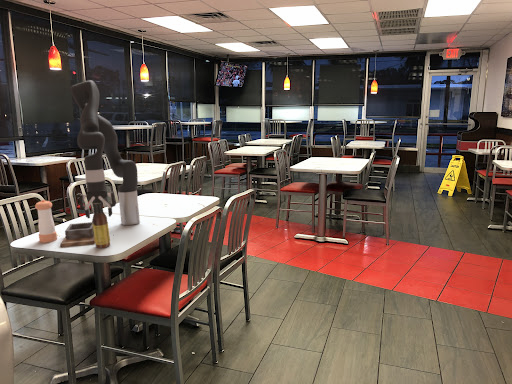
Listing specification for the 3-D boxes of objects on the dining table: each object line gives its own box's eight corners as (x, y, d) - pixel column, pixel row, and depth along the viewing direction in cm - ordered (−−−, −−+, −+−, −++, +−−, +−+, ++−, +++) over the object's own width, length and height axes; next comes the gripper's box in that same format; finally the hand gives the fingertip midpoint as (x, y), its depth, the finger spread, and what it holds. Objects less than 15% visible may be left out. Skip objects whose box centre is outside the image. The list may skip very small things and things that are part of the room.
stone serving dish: (99, 231, 201) (98, 220, 200) (94, 243, 182) (93, 231, 181) (69, 234, 197) (67, 223, 196) (60, 247, 178) (59, 235, 177)
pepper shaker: (52, 236, 194) (47, 197, 190) (59, 239, 190) (54, 199, 186) (36, 240, 189) (31, 200, 185) (43, 243, 184) (38, 202, 180)
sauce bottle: (101, 243, 182) (96, 200, 178) (113, 244, 180) (109, 200, 176) (91, 248, 176) (86, 203, 172) (104, 249, 174) (99, 204, 170)
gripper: (113, 177, 177) (117, 213, 181) (78, 179, 174) (83, 216, 177) (112, 180, 170) (116, 217, 173) (75, 182, 167) (80, 220, 170)
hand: (99, 217), depth 175 cm, fingers open, 8 cm apart
